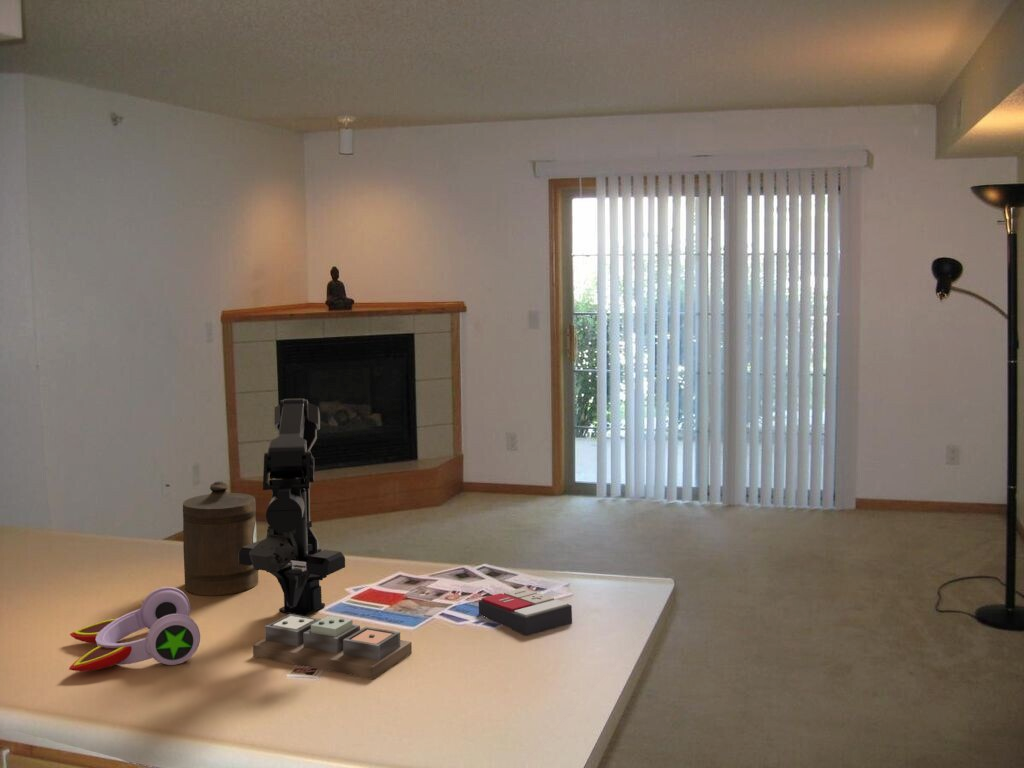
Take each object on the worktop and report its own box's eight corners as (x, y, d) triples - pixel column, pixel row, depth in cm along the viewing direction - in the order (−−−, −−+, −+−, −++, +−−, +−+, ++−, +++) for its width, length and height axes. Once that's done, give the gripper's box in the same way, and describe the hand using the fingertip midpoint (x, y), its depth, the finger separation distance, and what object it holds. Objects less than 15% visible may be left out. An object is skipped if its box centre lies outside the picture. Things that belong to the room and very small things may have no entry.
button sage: (311, 636, 168) (310, 623, 168) (328, 626, 172) (328, 614, 172) (335, 640, 166) (335, 628, 166) (352, 631, 170) (352, 618, 170)
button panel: (253, 656, 169) (252, 630, 169) (296, 633, 180) (295, 609, 180) (373, 679, 159) (372, 652, 159) (411, 653, 170) (411, 627, 169)
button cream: (273, 636, 171) (272, 623, 171) (291, 626, 176) (290, 614, 176) (296, 640, 169) (296, 627, 169) (314, 630, 174) (314, 618, 174)
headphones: (203, 617, 166) (72, 620, 158) (198, 674, 167) (68, 680, 159) (191, 584, 184) (73, 585, 176) (186, 636, 185) (68, 639, 177)
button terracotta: (351, 651, 165) (350, 638, 164) (367, 640, 169) (367, 628, 169) (376, 655, 163) (376, 642, 162) (392, 645, 167) (392, 632, 167)
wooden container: (273, 581, 211) (269, 479, 209) (218, 600, 199) (214, 492, 196) (225, 570, 219) (221, 472, 217) (169, 589, 206) (164, 484, 204)
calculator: (522, 585, 196) (572, 601, 184) (523, 607, 196) (573, 624, 184) (477, 596, 189) (525, 613, 177) (478, 619, 190) (526, 637, 178)
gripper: (214, 523, 167) (218, 613, 169) (305, 534, 159) (308, 629, 161) (257, 509, 177) (261, 594, 179) (345, 518, 169) (348, 608, 171)
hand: (292, 606), depth 172 cm, fingers closed
